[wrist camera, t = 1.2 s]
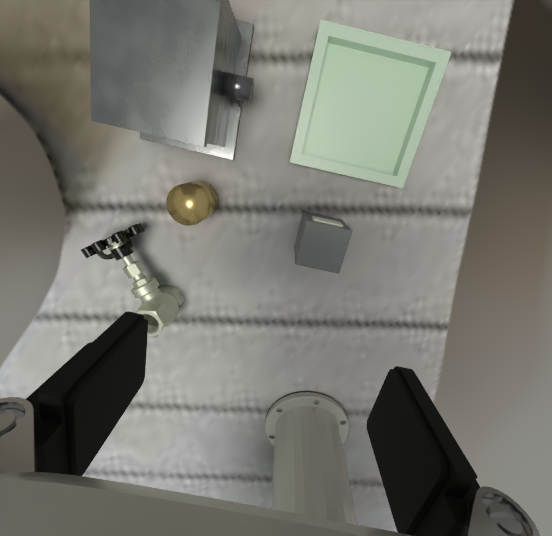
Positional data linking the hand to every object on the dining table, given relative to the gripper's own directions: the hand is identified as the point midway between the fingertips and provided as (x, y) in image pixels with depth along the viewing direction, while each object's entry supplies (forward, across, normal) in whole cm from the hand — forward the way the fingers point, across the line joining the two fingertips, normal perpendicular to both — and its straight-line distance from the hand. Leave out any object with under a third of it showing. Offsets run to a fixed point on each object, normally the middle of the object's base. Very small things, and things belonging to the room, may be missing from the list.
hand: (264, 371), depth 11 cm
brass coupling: (+24, +10, -2) cm, 26 cm away
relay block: (+24, -4, 0) cm, 25 cm away
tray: (+24, -5, -14) cm, 28 cm away
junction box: (+24, +12, -12) cm, 30 cm away
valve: (+25, +14, +9) cm, 30 cm away
